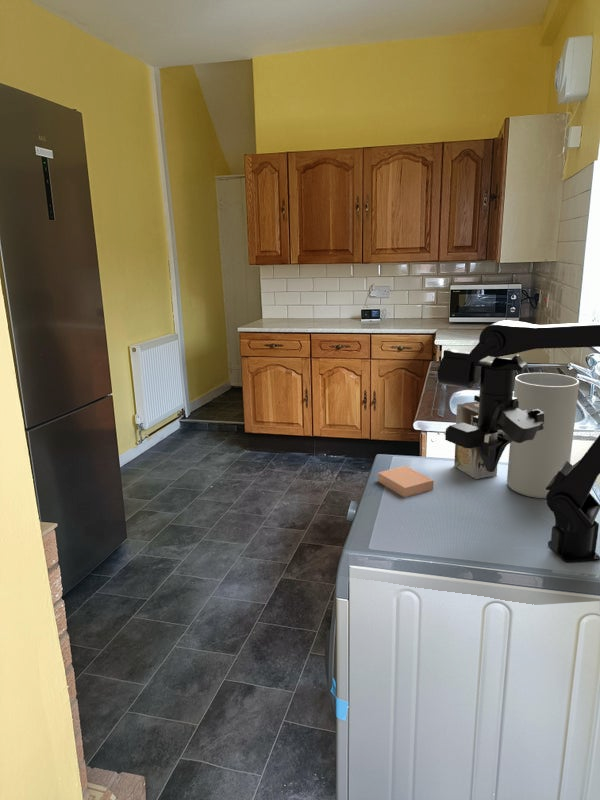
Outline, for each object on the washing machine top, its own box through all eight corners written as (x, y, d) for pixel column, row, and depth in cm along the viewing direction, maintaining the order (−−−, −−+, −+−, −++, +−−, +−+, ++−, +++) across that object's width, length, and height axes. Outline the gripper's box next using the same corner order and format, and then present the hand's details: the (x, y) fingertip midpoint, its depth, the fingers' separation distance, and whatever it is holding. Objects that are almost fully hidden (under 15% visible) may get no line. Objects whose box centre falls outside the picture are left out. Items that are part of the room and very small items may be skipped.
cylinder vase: (494, 483, 131) (502, 377, 124) (532, 472, 136) (542, 370, 130) (540, 504, 120) (551, 389, 113) (579, 491, 126) (592, 381, 119)
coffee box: (498, 475, 135) (503, 410, 131) (475, 479, 133) (480, 414, 129) (473, 462, 143) (477, 400, 139) (452, 466, 141) (455, 403, 137)
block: (433, 480, 128) (405, 465, 137) (405, 487, 124) (378, 472, 133) (433, 491, 129) (405, 475, 137) (404, 498, 125) (377, 482, 134)
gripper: (493, 410, 92) (486, 498, 97) (569, 393, 101) (560, 475, 105) (445, 395, 102) (441, 476, 106) (518, 380, 110) (512, 456, 114)
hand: (490, 471), depth 108 cm, fingers closed
